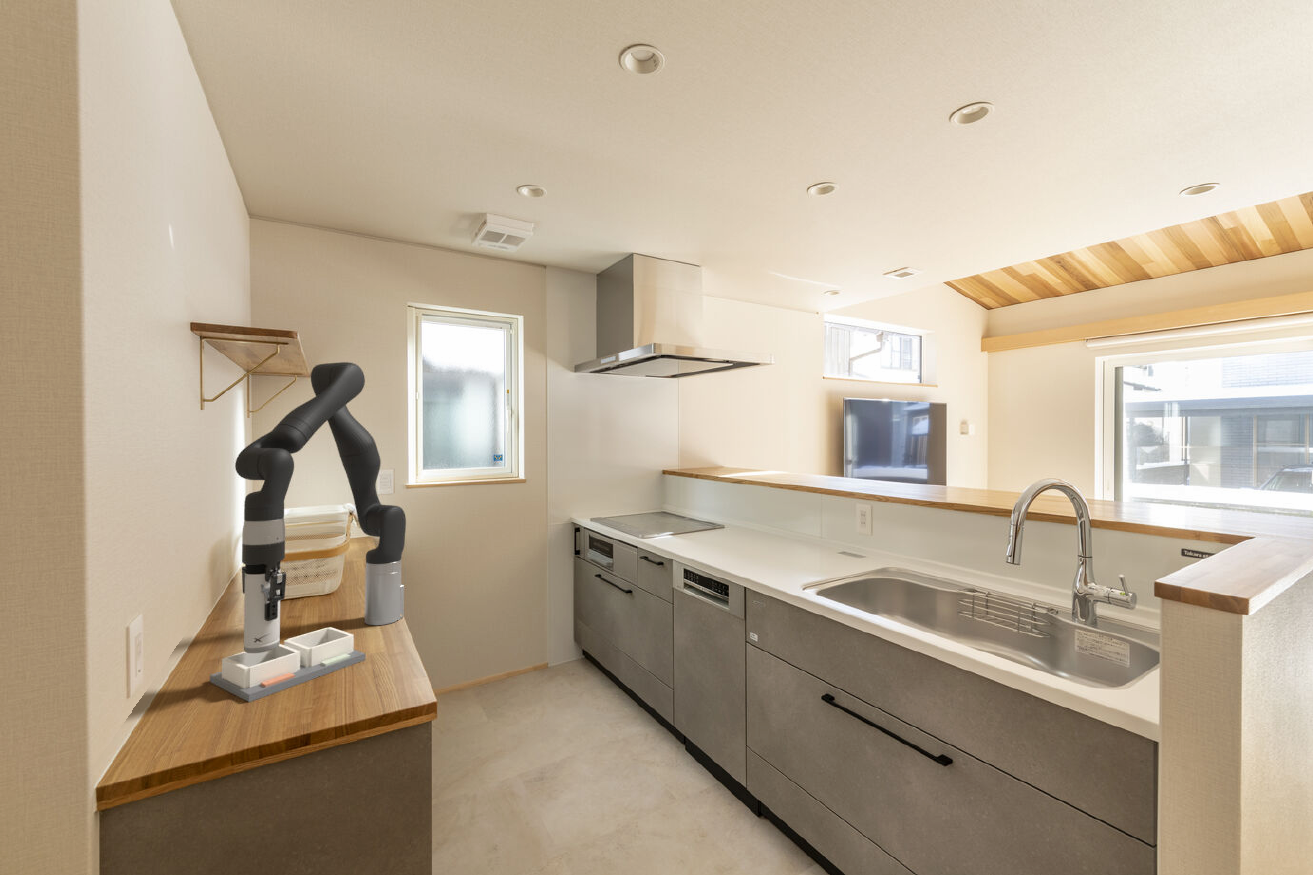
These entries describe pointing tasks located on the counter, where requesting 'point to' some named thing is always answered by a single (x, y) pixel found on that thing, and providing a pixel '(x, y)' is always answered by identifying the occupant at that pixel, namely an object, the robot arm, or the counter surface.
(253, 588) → the travel mug
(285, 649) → the holder board
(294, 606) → the counter surface
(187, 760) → the counter surface
